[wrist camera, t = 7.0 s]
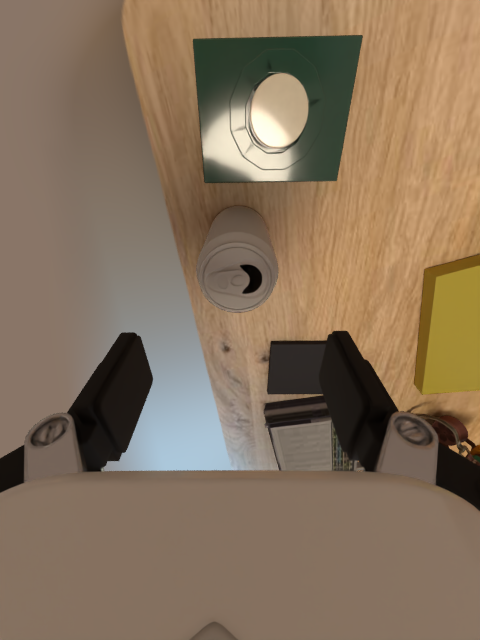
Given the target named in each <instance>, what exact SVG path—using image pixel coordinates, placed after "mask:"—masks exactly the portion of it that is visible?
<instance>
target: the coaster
mask: <svg viewBox="0 0 480 640" xmlns="http://www.w3.org/2000/svg"><path fill="white" fill-rule="evenodd" d="M326 343H327V341H271V347H270V361H269V375H268V389H267V392H268V394H323V392H322V389H321V386H320V383H319V372H320V368H321V364H322V360H323V355H324V351H325V347H326Z"/></svg>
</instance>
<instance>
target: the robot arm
mask: <svg viewBox="0 0 480 640" xmlns="http://www.w3.org/2000/svg"><path fill="white" fill-rule="evenodd" d="M152 381H153V377H152V373H151V370H150V366H149V363H148V360H147V356H146V353H145V350H144V347H143V344H142V340H141V337H140V336H137V334H136V333H121V334H120V335H119V337H118V338H117V340H116V341H115V343H114V344H113V346H112V347H111V349H110V350H109V352H108V353H107V355H106V357H105V358H104V360H103V361H102V362H101V363H100V364H99V365H98V367H97V369H96V370H95V371H94V373H93V374H92V376H91V377H90V379H89V380H88V382H87V383H86V385H85V386H84V388H83V389H82V391H81V393H80V394H79V396H78V397H77V399H76V400H75V402H74V403H73V405H72V406H71V408H70V409H69V411H68V412H67V413H56V414H53V415H50V416H48V417H46V418H44V419H42V420H41V421H39V422H38V423H37V424H35V425H34V426H33V427H32V428H31V430H30V431H29V432H28V434H27V436H26V439H25V444H24V445H23V446H21V447H19V448H18V449H16V450H14V451H12V452H11V453H9V454H7V455H5V456H4V457H2V458H0V640H480V466H478V465H477V464H475V463H473V462H471V461H470V460H468V459H466V458H465V457H463V456H461V455H459V454H458V453H456V452H454V451H453V450H451V449H449V448H447V447H446V446H444V445H442V444H441V443H439V441H438V435H437V433H436V432H435V430H434V428H433V427H432V426H431V425H430V424H429V423H428V422H427V421H425V420H424V419H423V418H421V417H419V416H417V415H416V414H413V413H410V412H404V411H400V412H399V411H398V409H397V407H396V406H395V404H394V402H393V401H392V399H391V397H390V396H389V394H388V392H387V391H386V389H385V387H384V386H383V384H382V382H381V381H380V379H379V377H378V376H377V374H376V372H375V371H374V369H373V367H372V366H371V364H370V363H369V361H367V360H364V358H363V357H362V355H361V353H360V352H359V350H358V348H357V346H356V345H355V343H354V341H353V340H352V338H351V336H350V334H349V333H348V332H347V331H333V333H332V334H329V335H328V338H327V343H326V347H325V351H324V355H323V360H322V364H321V368H320V372H319V383H320V386H321V389H322V392H323V395H324V398H325V401H326V404H327V407H328V410H329V413H330V416H331V419H332V422H333V425H334V428H335V431H336V434H337V437H338V440H339V443H340V446H341V449H342V451H343V452H346V453H347V455H348V458H349V461H359V462H360V465H361V466H362V467H364V470H363V472H360V471H104V468H103V467H104V466H106V463H107V461H119V459H120V457H121V454H122V453H124V452H126V450H127V448H128V445H129V443H130V440H131V438H132V435H133V432H134V430H135V427H136V424H137V422H138V419H139V417H140V414H141V411H142V409H143V406H144V403H145V401H146V398H147V395H148V393H149V391H150V388H151V385H152Z"/></svg>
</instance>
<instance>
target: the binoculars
mask: <svg viewBox="0 0 480 640" xmlns="http://www.w3.org/2000/svg"><path fill="white" fill-rule="evenodd" d="M416 415H417V416H419V417H426V418H430V419H433V420H436V421H435V422H434V423H433V424H432V427H433V428H434V430H435V432H436V433H437V435H438V441H439V443H441V444H442V445H444V446H446V447H447V448H449V446H452V445H456V444H457V448H458V449H459V455H461V456H463V455H462V454H461V453H463V452H464V451H465V450H466V451H467V452H468V454H467V456H466V457H465V458H466V459H468V460H470V461H471V462H473V463H475V464H477V465H478V466H480V445H477V446H475V444H474V443H473V442H472V441H470V440H469V439H468V431H467V429H466V427H465V426H464V425H463V423H461V422H460V421H459V420H458V419H456V418H454V417H451V416H446V415H444V416H441V417H439V418H437V417H434V416H430V415H425V414H416ZM464 441H465V442H467V443H468V444H469V445H471V447H472V449H471V451H469V450H468V448H467V447H466V446H463V445H462V444H461V442H464ZM448 445H449V446H448ZM463 457H464V456H463Z"/></svg>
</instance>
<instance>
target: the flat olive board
mask: <svg viewBox="0 0 480 640" xmlns="http://www.w3.org/2000/svg"><path fill="white" fill-rule="evenodd" d="M414 384H415V386H416V387H417V388H418V390H419V391H420V393H421V394H422V395H423V394H437V393H450V392H463V391H477V390H480V254H479V255H476V256H472V257H468V258H465V259H461V260H457V261H454V262H450V263H446V264H443V265H439V266H435V267H432V268H428V269H425V272H424V283H423V294H422V304H421V315H420V326H419V337H418V348H417V359H416V370H415V381H414Z"/></svg>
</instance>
